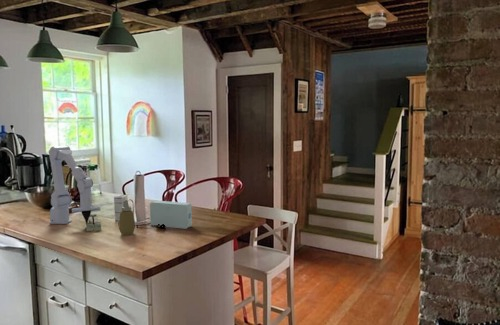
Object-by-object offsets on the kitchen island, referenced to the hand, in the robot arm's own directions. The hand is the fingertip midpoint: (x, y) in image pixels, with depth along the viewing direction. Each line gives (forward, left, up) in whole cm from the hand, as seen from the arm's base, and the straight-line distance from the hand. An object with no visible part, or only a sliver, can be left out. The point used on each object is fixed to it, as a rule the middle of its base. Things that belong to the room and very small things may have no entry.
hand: (86, 224), depth 221 cm
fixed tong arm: (+3, +2, -1) cm, 4 cm away
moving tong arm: (+2, -1, -1) cm, 2 cm away
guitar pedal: (+46, +3, -2) cm, 46 cm away
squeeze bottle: (+27, -13, -2) cm, 30 cm away
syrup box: (+14, +16, -2) cm, 21 cm away
